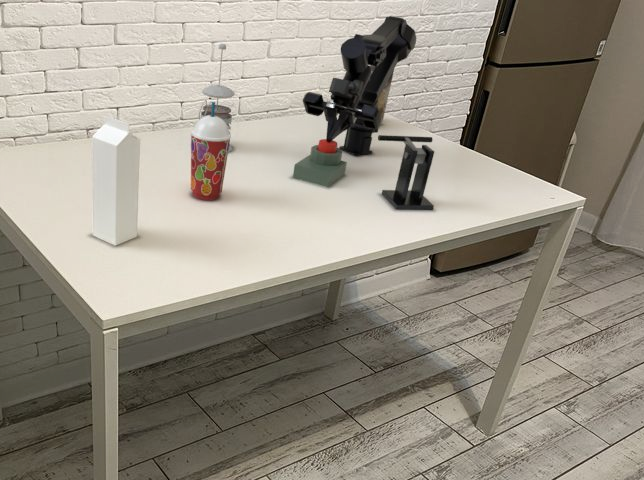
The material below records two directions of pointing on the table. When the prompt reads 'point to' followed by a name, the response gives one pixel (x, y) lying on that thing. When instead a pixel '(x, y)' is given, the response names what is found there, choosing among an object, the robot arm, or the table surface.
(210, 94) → the french press
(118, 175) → the milk
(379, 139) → the lever
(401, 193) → the black stand
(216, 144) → the smoothie
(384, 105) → the coffee box
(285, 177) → the table surface
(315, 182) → the control block
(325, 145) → the button
